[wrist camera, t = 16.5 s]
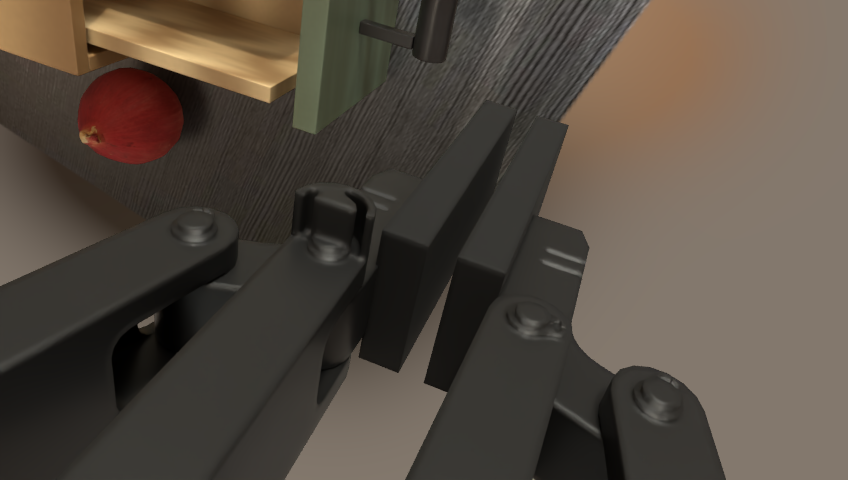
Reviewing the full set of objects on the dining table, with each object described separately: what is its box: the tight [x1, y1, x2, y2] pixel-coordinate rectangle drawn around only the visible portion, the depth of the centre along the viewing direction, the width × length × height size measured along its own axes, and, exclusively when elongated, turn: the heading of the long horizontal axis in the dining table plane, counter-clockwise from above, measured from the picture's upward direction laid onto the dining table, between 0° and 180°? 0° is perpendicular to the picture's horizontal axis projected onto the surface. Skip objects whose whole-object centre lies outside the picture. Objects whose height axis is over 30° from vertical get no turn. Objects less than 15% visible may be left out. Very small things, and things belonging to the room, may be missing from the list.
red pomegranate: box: [78, 68, 184, 164], centre depth 41 cm, size 6×6×8 cm
